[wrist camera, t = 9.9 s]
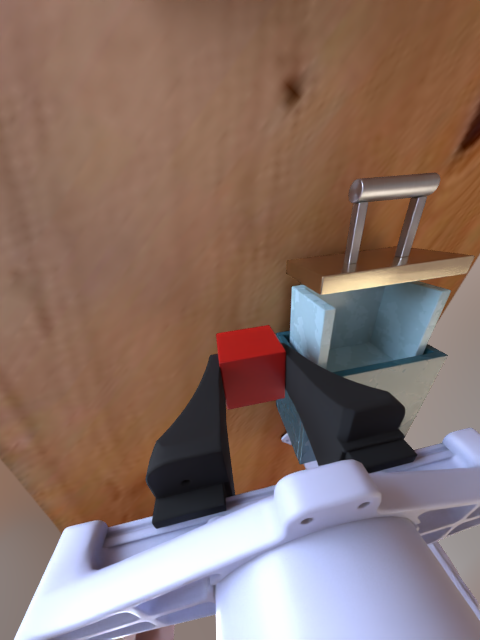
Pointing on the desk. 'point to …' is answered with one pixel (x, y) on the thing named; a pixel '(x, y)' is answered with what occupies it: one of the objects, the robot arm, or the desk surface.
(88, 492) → the desk surface
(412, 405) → the teal box
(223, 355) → the small red toy cube
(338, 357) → the drawer
